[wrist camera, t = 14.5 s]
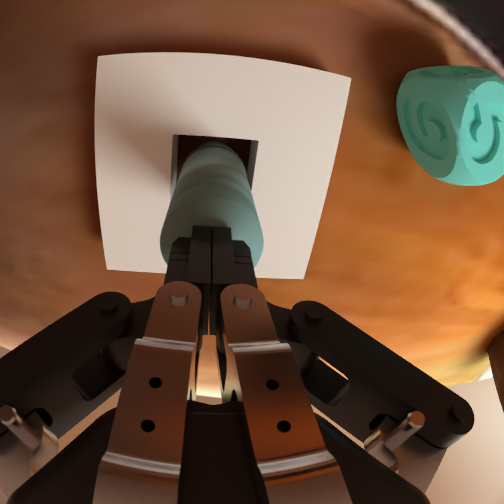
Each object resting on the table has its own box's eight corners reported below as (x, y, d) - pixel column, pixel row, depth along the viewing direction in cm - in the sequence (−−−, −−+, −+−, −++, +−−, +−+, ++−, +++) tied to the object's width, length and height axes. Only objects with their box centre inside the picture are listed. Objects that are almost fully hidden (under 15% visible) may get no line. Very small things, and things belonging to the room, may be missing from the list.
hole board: (332, 76, 19) (351, 78, 16) (294, 255, 28) (303, 279, 25) (115, 57, 16) (97, 56, 13) (117, 245, 25) (107, 269, 22)
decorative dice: (464, 140, 22) (521, 170, 16) (404, 160, 23) (461, 198, 17) (452, 63, 18) (516, 75, 11) (385, 74, 19) (450, 84, 12)
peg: (245, 137, 21) (273, 200, 11) (238, 189, 23) (256, 289, 14) (187, 132, 20) (157, 193, 11) (184, 186, 23) (160, 284, 13)
